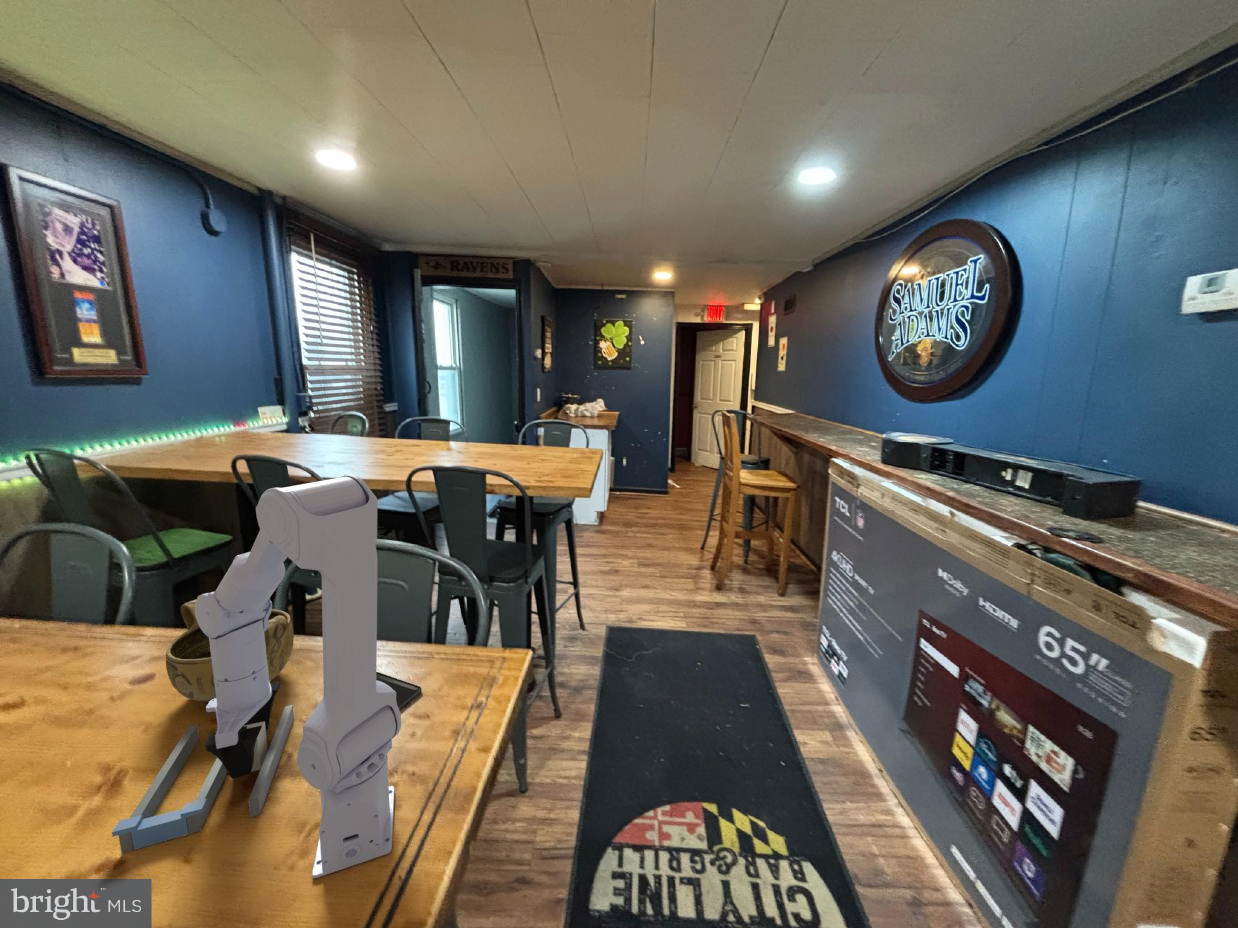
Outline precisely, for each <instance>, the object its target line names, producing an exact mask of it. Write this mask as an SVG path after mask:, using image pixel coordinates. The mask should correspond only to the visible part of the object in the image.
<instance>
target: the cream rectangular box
mask: <svg viewBox="0 0 1238 928" xmlns="http://www.w3.org/2000/svg"><path fill="white" fill-rule="evenodd" d="M245 726H247V729H248V728H252V727H257V726H262V728H261V730H260V733H259V735H258V737H257V739H256V743H255V749H254V762H253V767H252V770H251V772H255V771H260V770H261V767H262V765H263V762H264V760H265V757H266V755H267V752H268V749H269V748H268V741H267V739H268V737H267V734H266V728H265V721H264V722H259V723H254V724H250V725H245ZM245 726H244V727H245Z"/></svg>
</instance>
